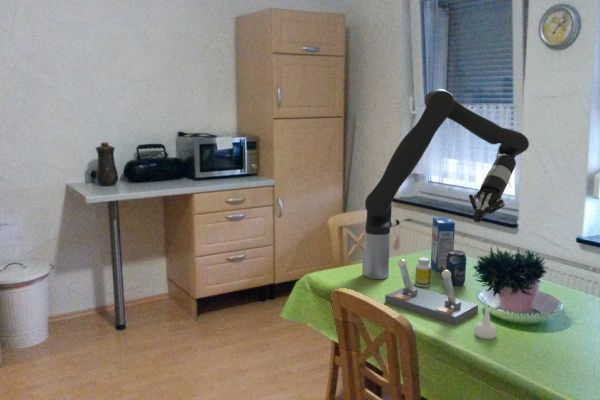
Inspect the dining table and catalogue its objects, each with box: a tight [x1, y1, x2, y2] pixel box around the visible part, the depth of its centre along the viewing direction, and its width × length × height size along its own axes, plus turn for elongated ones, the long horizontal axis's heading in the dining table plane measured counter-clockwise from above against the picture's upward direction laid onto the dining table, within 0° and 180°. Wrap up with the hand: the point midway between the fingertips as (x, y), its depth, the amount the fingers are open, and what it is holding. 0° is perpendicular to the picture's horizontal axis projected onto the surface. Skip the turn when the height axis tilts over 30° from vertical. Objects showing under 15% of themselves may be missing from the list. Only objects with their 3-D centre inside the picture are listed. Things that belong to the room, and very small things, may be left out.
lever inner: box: [397, 259, 413, 293], centre depth 182 cm, size 3×3×13 cm
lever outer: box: [441, 270, 456, 306], centre depth 171 cm, size 3×3×13 cm
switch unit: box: [384, 285, 479, 326], centre depth 180 cm, size 26×14×4 cm, turn 45°
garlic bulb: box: [473, 308, 498, 340], centre depth 158 cm, size 6×6×8 cm
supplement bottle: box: [414, 256, 432, 288], centre depth 201 cm, size 5×5×10 cm
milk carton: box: [430, 217, 456, 274], centre depth 218 cm, size 10×6×20 cm, turn 179°
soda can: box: [446, 249, 467, 287], centre depth 201 cm, size 7×7×12 cm
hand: (476, 220), depth 186 cm, fingers closed
